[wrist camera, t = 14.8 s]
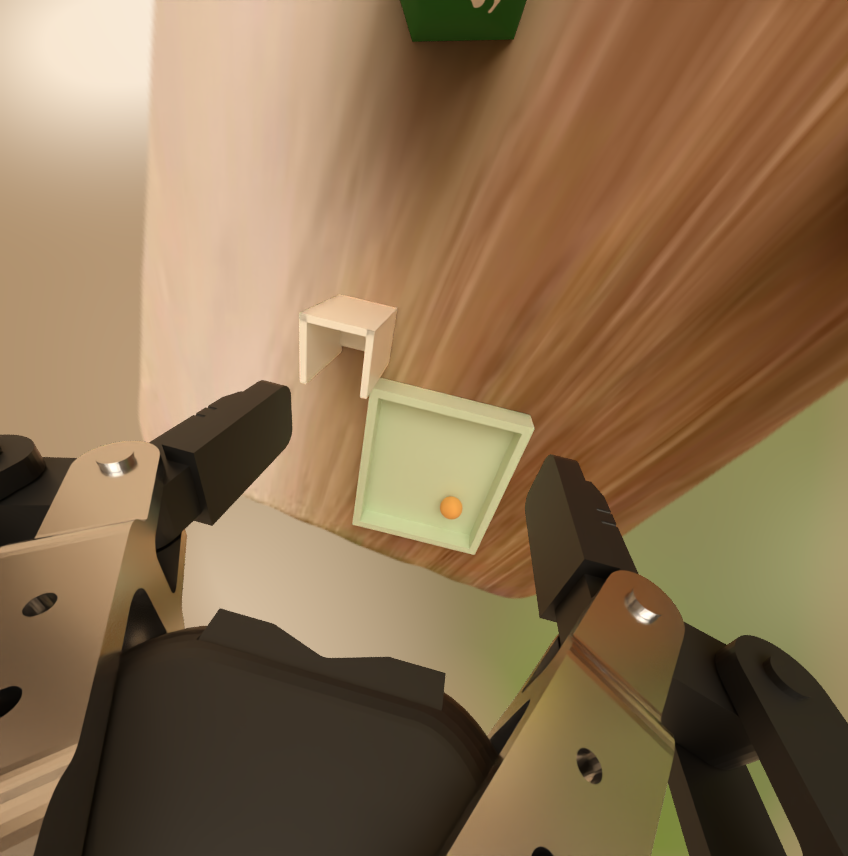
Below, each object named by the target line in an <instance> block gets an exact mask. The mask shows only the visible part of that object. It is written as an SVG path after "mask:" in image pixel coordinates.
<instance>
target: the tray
mask: <svg viewBox="0 0 848 856" xmlns="http://www.w3.org/2000/svg"><path fill="white" fill-rule="evenodd" d="M534 429H535V428H534V425H533V422H532V419H531V416H530V415H528V414H524V413H520V412H516V411H512V410H508V409H504V408H500V407H496V406H492V405H488V404H484V403H480V402H476V401H472V400H468V399H464V398H460V397H456V396H452V395H448V394H444V393H440V392H436V391H432V390H428V389H424V388H420V387H416V386H412V385H408V384H404V383H400V382H396V381H392V380H388V379H384V378H379V380H378V382H377V383H376V385H375V386H374V388H373V389H372V391H371V393H370V395H369V402H368V410H367V417H366V425H365V433H364V440H363V448H362V455H361V463H360V470H359V478H358V485H357V493H356V500H355V508H354V515H353V523H352V525H356V526H360V527H364V528H368V529H372V530H376V531H381V532H385V533H389V534H393V535H397V536H401V537H405V538H409V539H413V540H417V541H421V542H425V543H429V544H433V545H437V546H441V547H445V548H449V549H453V550H457V551H461V552H465V553H469V554H473V555H475V553H476V551H477V549H478V546H479V544H480V542H481V540H482V538H483V536H484V534H485V532H486V530H487V528H488V525H489V523H490V521H491V519H492V517H493V515H494V513H495V511H496V509H497V507H498V504H499V502H500V500H501V498H502V496H503V494H504V492H505V490H506V488H507V486H508V483H509V481H510V479H511V477H512V475H513V473H514V471H515V469H516V467H517V465H518V463H519V460H520V458H521V456H522V454H523V452H524V450H525V448H526V446H527V444H528V442H529V439H530V437H531V435H532V433H533V431H534ZM449 496H453V497H456V498H458V499H459V500H460V501H461V503H462V508H463V509H462V513H461V515H460V516H459V517H458V518H456V519H447V518H445V517H444V516H443V515H442V513H441V511H440V504H441V502H442V500H443V499H445V498H446V497H449Z"/></svg>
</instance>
